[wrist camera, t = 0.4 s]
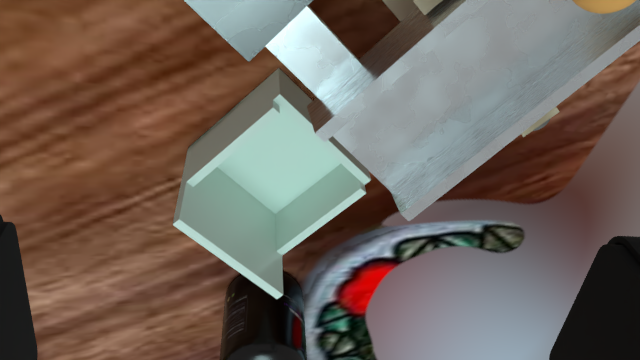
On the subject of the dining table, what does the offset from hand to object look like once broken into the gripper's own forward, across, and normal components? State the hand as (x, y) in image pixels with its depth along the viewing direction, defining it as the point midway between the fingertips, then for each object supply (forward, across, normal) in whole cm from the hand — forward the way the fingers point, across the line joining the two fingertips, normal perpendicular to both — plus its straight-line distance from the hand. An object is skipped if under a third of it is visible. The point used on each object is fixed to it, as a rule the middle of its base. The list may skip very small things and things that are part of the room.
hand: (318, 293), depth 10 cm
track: (+27, -8, +1) cm, 28 cm away
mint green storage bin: (+32, -2, +16) cm, 36 cm away
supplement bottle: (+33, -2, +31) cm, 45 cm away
